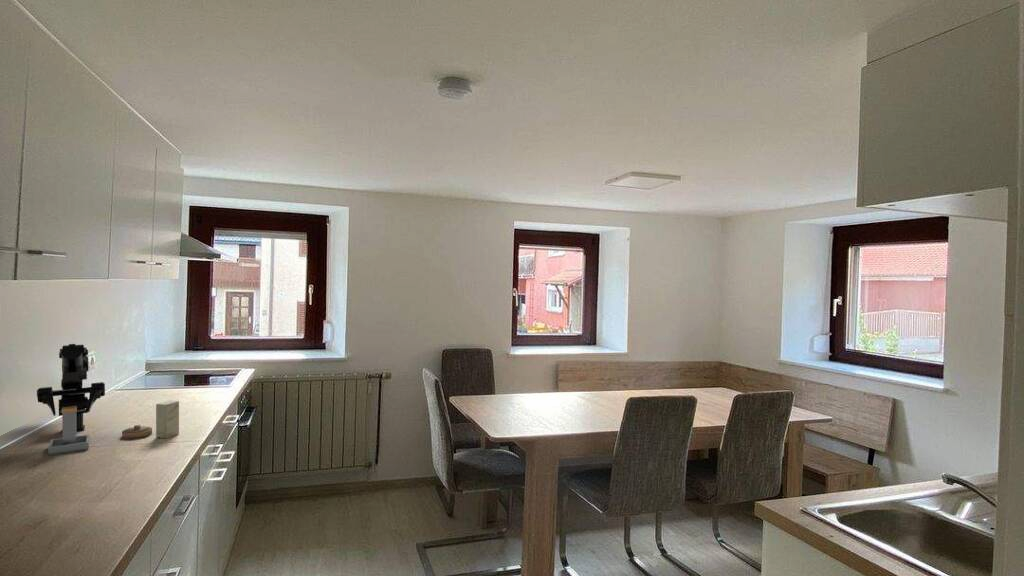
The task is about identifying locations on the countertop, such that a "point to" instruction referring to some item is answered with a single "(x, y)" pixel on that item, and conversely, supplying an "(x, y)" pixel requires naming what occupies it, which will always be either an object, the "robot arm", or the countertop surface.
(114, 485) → the countertop surface
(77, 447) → the tray
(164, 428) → the skincare box
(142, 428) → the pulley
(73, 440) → the pin
